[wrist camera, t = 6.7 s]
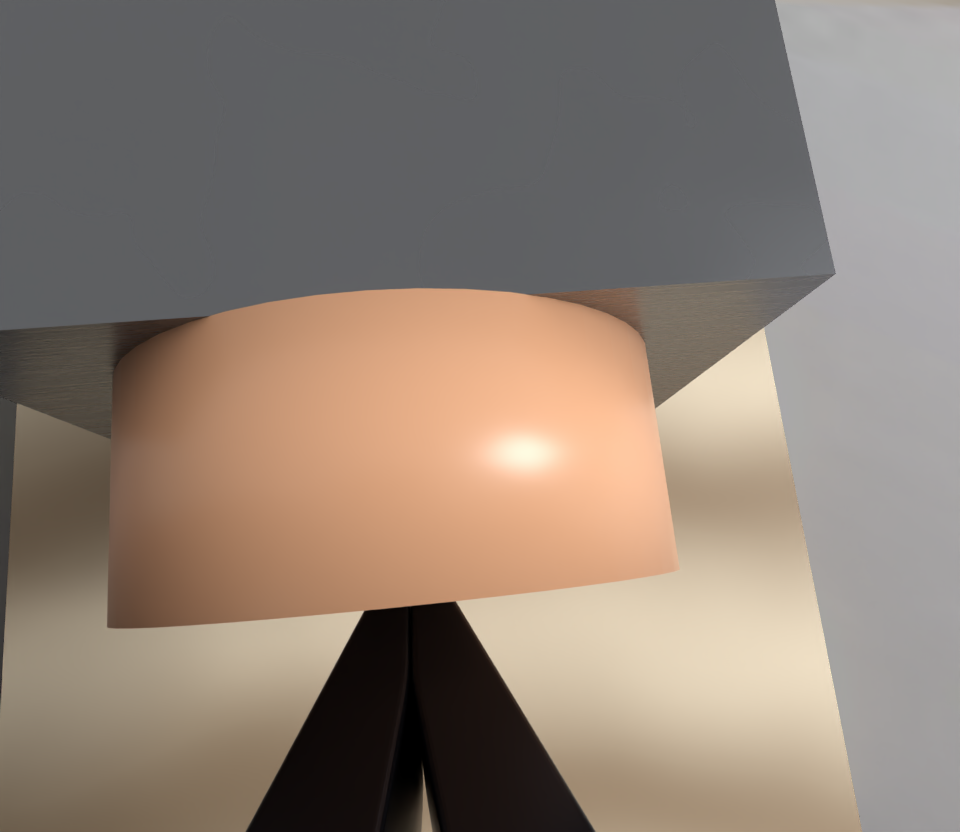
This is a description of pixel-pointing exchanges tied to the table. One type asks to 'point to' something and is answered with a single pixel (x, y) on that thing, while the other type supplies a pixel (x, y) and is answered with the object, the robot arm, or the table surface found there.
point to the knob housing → (392, 170)
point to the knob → (381, 457)
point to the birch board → (498, 625)
